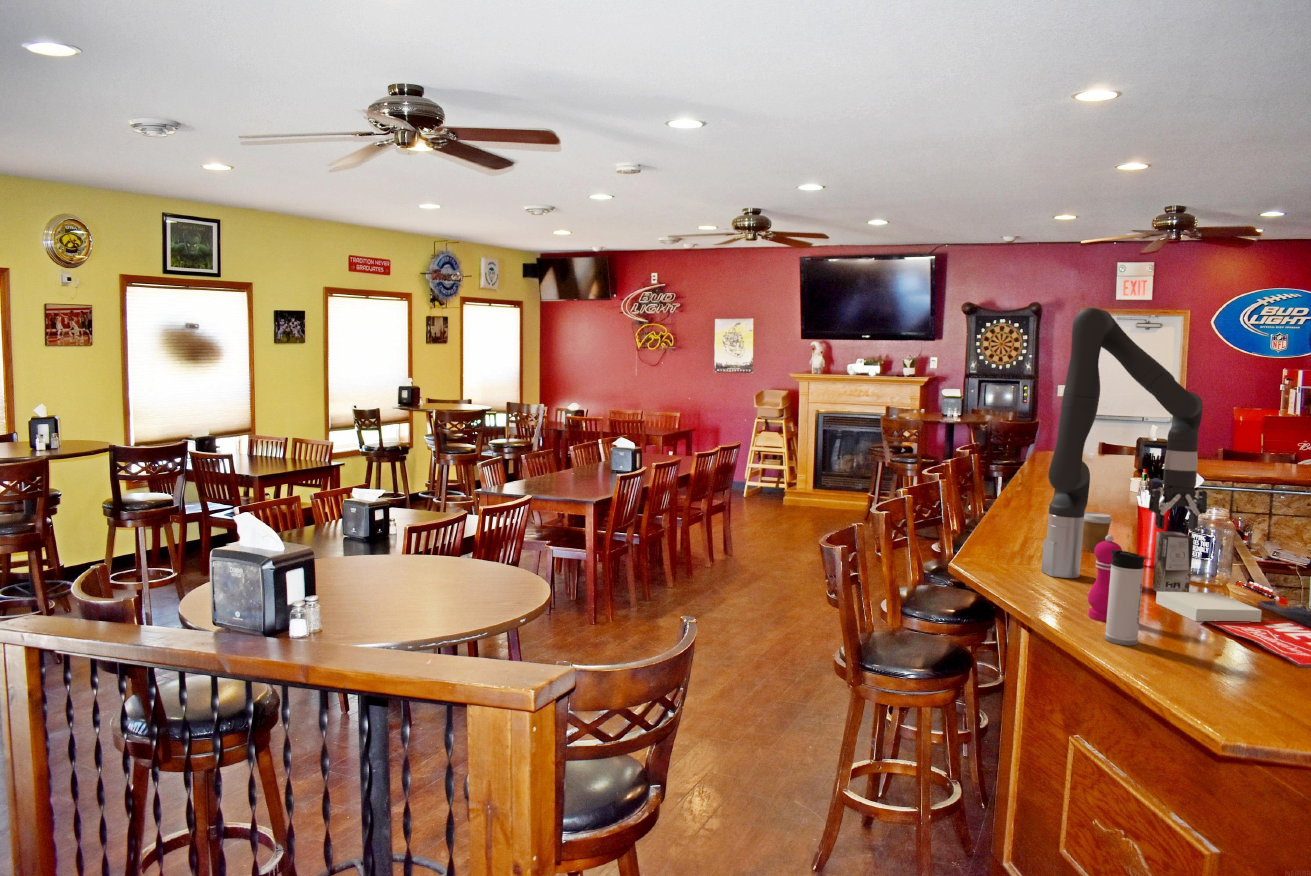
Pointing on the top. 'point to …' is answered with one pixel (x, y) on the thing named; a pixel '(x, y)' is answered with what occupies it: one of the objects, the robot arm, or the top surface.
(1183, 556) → the coffee box
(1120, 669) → the top surface
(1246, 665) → the top surface
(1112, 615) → the travel mug
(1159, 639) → the top surface
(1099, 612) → the pepper mill
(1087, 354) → the robot arm
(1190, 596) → the plinth
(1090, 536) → the disposable coffee cup
